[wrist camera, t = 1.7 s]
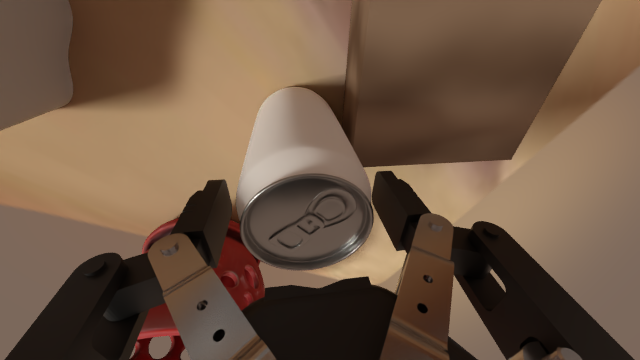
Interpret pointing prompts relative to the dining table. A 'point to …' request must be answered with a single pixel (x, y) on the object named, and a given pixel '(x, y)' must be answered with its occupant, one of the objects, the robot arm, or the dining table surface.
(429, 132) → the walnut stand
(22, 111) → the lumpy-topped squat cylinder
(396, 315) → the robot arm
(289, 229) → the can
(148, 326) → the plant pot
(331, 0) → the dining table surface
